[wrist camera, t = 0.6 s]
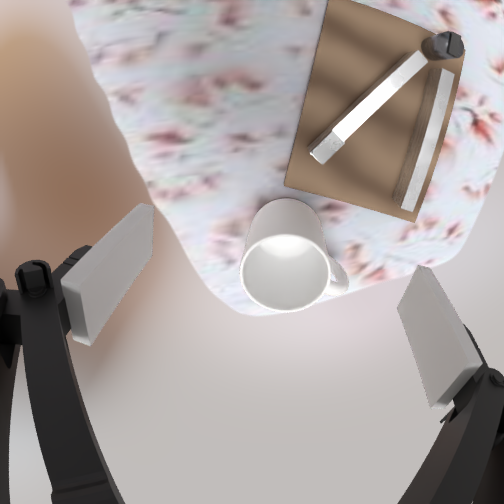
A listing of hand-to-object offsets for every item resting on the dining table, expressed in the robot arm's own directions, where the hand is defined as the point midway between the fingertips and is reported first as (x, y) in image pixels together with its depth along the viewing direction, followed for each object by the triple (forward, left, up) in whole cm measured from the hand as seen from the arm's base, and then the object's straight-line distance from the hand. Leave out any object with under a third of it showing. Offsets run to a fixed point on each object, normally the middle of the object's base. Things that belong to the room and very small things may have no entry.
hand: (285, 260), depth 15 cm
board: (-9, +8, -22) cm, 25 cm away
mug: (+8, +4, -22) cm, 24 cm away
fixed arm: (-9, +12, -21) cm, 26 cm away
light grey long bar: (-9, +6, -20) cm, 23 cm away
